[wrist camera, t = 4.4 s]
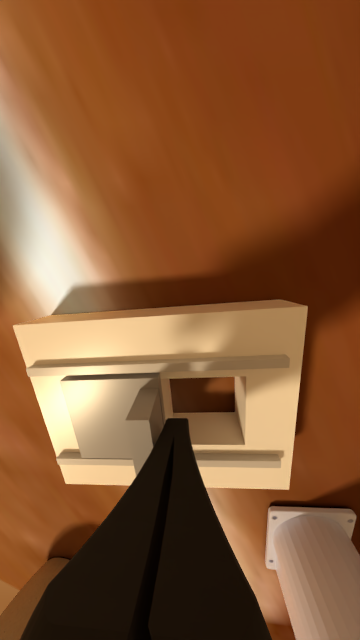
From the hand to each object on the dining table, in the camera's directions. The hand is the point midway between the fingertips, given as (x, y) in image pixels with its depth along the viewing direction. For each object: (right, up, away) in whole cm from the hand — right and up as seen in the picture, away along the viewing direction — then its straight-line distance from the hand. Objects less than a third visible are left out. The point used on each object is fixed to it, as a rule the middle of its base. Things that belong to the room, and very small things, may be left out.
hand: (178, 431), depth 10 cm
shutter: (-4, 0, +2) cm, 5 cm away
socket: (0, +1, +4) cm, 4 cm away
